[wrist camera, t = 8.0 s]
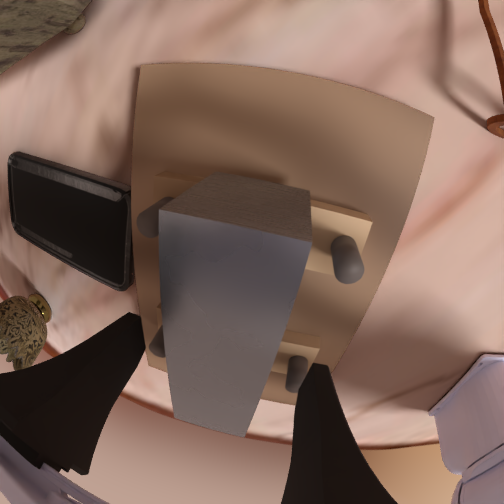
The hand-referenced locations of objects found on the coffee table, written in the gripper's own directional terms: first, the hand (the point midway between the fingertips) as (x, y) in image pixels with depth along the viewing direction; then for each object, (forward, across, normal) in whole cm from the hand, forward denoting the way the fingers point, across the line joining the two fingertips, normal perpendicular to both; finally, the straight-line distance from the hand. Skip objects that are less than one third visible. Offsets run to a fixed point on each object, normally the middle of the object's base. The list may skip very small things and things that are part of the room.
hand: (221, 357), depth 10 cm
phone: (+7, +15, -1) cm, 17 cm away
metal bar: (+4, 0, 0) cm, 4 cm away
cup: (+6, +22, +11) cm, 26 cm away
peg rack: (+6, 0, 0) cm, 6 cm away
